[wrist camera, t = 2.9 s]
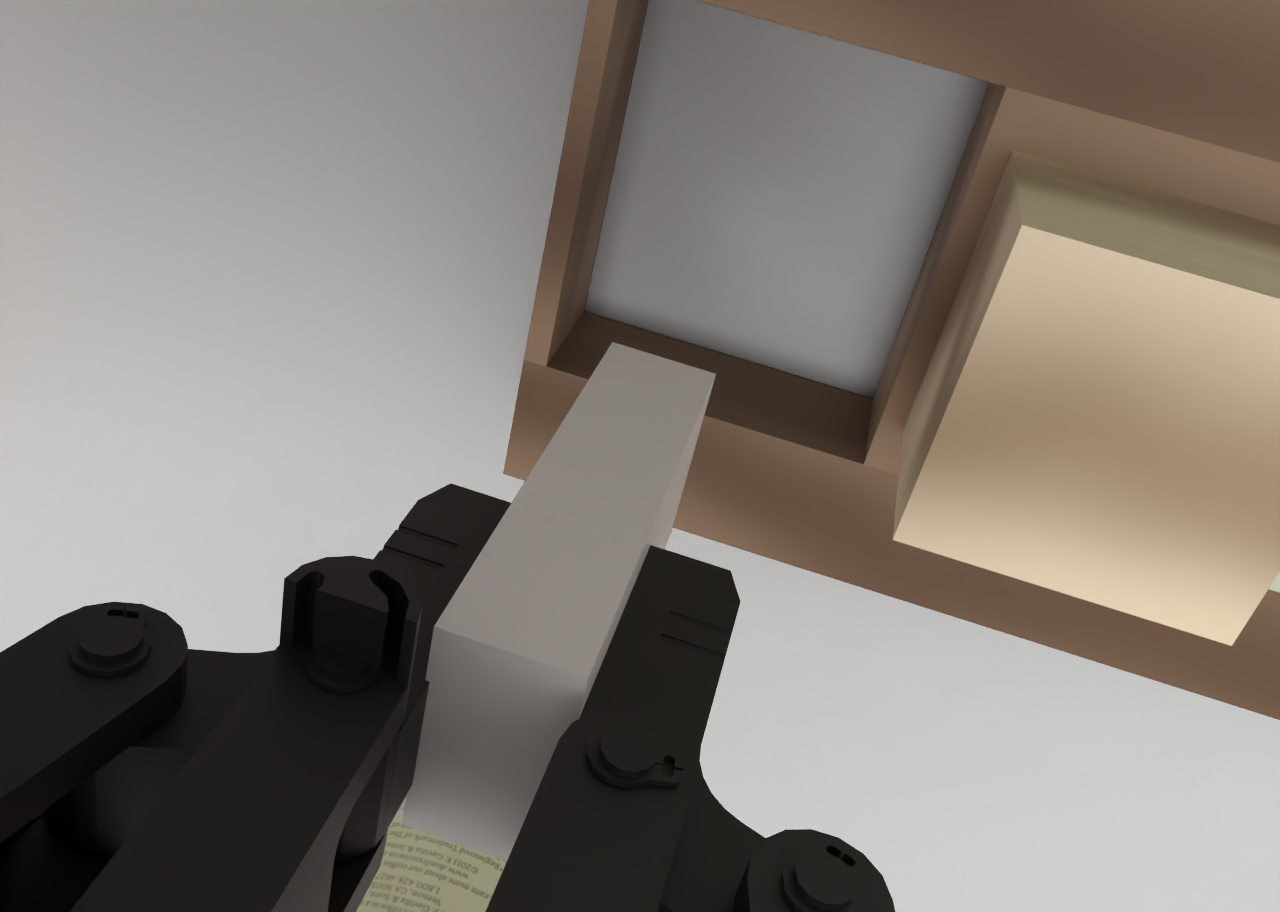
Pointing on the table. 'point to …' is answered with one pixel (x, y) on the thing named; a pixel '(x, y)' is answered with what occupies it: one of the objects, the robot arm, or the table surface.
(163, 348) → the table surface
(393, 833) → the coffee can
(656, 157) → the table surface
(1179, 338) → the maple block
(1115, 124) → the trap deck
